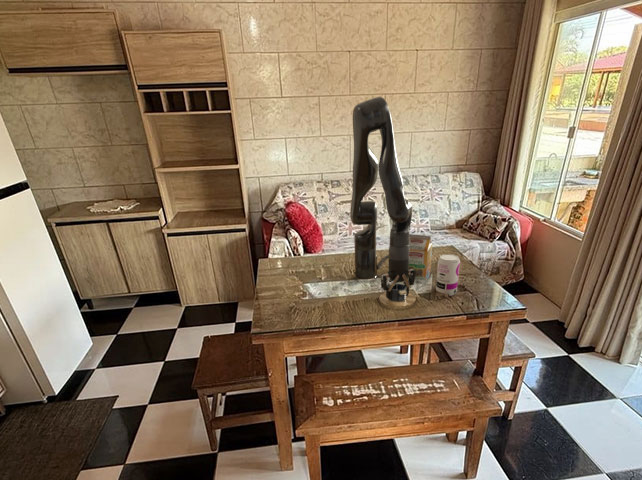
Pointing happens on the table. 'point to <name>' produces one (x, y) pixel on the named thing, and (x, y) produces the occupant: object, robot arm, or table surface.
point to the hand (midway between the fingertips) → (397, 297)
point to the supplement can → (447, 274)
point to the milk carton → (420, 255)
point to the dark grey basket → (398, 293)
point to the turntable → (407, 301)
